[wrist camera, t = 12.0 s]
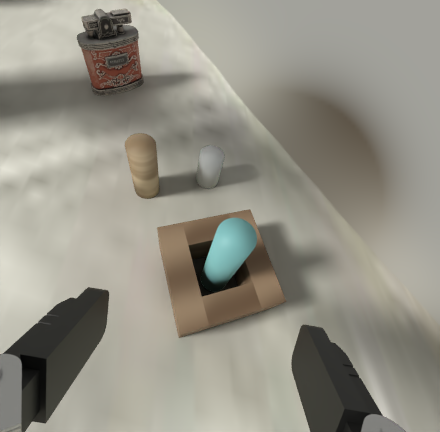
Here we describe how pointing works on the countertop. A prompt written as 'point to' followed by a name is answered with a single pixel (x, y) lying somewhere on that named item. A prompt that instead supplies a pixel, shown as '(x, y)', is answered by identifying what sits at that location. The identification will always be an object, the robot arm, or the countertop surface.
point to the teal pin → (227, 252)
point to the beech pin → (143, 164)
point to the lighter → (111, 51)
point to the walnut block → (224, 300)
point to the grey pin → (209, 166)
